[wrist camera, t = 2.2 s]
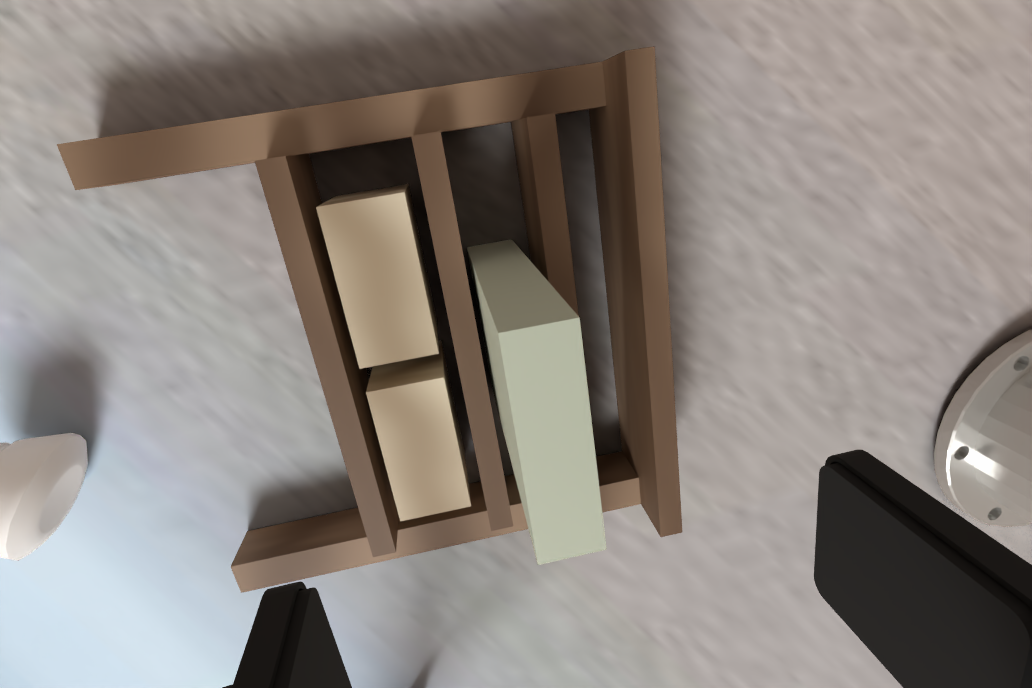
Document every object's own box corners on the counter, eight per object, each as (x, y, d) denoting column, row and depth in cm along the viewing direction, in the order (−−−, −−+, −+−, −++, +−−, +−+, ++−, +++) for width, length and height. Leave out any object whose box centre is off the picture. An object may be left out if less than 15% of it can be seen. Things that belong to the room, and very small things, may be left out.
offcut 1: (408, 183, 24) (404, 192, 19) (436, 319, 26) (438, 353, 21) (335, 196, 23) (316, 207, 19) (370, 331, 25) (359, 368, 21)
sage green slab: (511, 239, 25) (579, 317, 14) (533, 383, 27) (606, 549, 16) (466, 247, 25) (497, 333, 13) (492, 391, 27) (538, 564, 16)
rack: (608, 66, 23) (654, 46, 18) (642, 471, 30) (682, 532, 25) (97, 144, 21) (4, 144, 17) (256, 555, 28) (222, 637, 23)
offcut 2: (441, 340, 26) (444, 377, 22) (464, 452, 28) (471, 506, 24) (376, 352, 26) (365, 392, 22) (404, 464, 28) (400, 521, 24)
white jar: (84, 511, 26) (9, 591, 21) (11, 495, 25) (-83, 573, 21) (106, 418, 25) (32, 481, 20) (30, 398, 24) (-65, 459, 19)
